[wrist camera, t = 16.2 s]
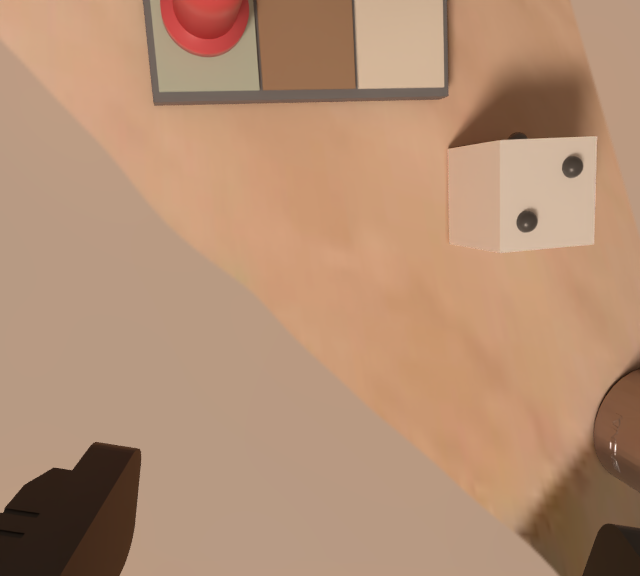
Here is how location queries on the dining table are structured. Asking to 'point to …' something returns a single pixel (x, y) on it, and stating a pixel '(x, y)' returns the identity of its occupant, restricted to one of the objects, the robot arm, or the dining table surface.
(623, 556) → the robot arm
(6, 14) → the dining table surface
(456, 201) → the die
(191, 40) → the pawn
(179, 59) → the board
